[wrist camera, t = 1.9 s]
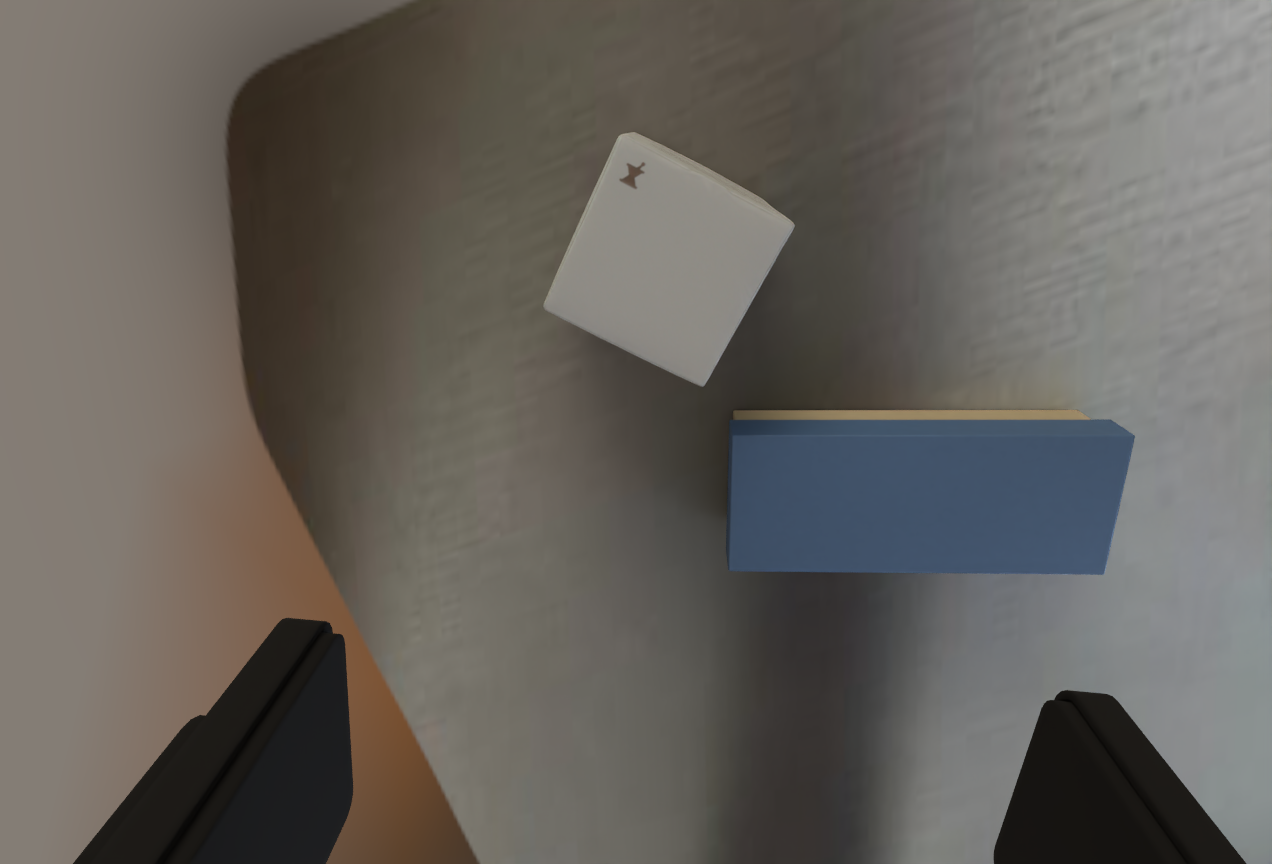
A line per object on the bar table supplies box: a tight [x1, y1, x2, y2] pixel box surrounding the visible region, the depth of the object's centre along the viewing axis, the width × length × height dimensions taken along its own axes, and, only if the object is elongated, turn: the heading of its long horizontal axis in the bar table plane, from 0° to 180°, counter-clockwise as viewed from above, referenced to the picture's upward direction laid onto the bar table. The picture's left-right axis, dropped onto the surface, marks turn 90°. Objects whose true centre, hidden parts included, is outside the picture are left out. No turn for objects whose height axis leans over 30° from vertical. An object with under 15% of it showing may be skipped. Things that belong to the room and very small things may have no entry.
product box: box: [543, 132, 795, 387], centre depth 28 cm, size 6×6×7 cm
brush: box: [726, 410, 1135, 575], centre depth 33 cm, size 15×6×4 cm, turn 91°
